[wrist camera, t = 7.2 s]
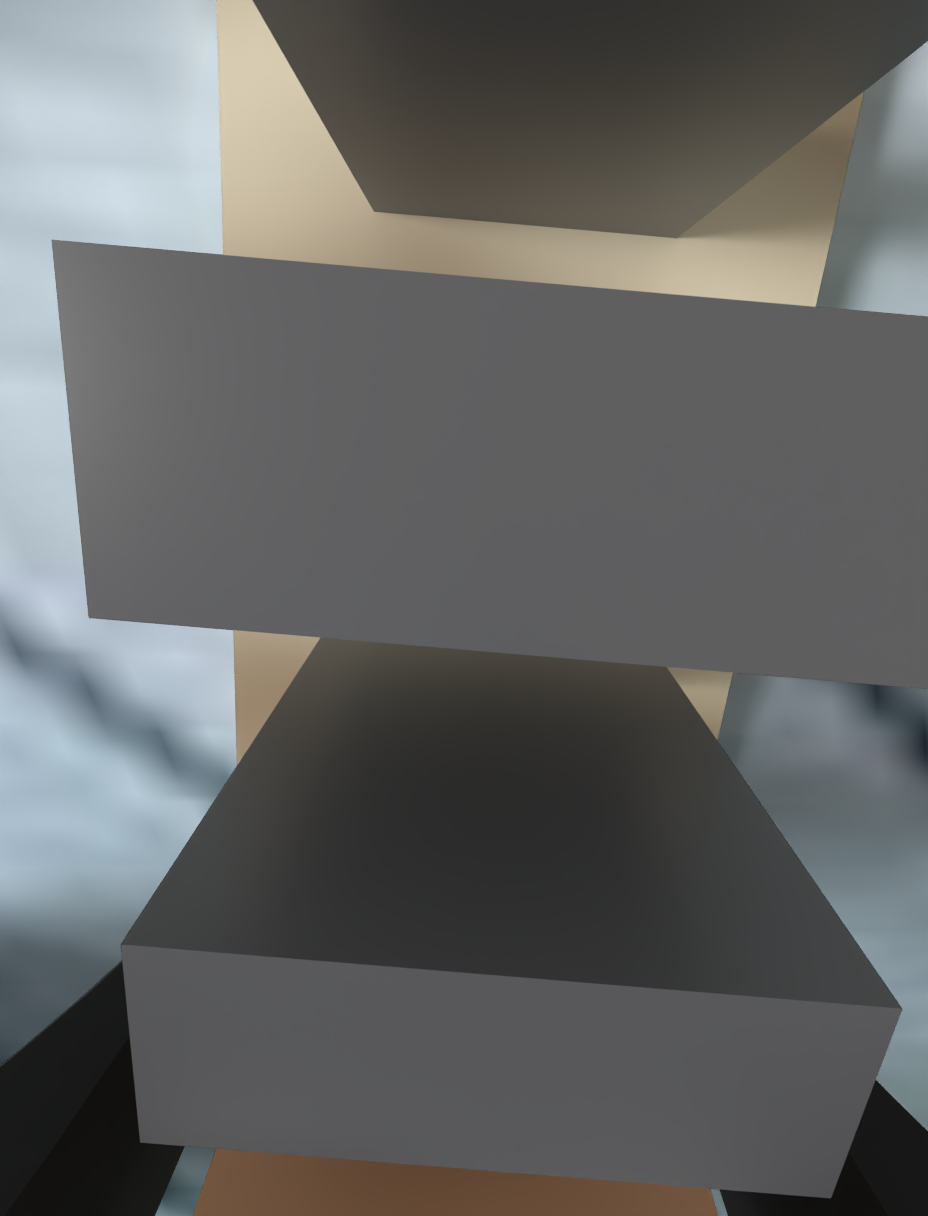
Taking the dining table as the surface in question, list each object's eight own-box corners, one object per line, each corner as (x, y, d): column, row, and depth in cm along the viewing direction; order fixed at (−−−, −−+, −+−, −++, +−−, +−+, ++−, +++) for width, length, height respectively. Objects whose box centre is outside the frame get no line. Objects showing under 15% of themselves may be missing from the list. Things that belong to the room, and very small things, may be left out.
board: (668, 890, 16) (678, 919, 15) (251, 856, 16) (238, 882, 15) (930, -319, 9) (976, -390, 9) (227, -384, 9) (201, -463, 8)
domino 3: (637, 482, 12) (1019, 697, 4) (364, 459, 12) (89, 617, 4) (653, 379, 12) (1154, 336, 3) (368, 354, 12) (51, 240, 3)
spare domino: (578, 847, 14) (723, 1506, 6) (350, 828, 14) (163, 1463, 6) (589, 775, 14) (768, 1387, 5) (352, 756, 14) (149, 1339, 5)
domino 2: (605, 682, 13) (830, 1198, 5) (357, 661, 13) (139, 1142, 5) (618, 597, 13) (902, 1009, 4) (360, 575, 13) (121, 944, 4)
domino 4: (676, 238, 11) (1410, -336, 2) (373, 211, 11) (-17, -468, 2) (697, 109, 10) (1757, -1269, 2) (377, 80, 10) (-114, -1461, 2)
